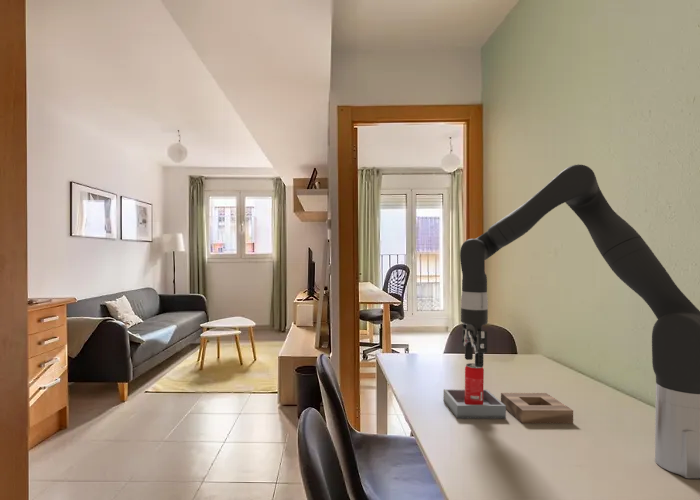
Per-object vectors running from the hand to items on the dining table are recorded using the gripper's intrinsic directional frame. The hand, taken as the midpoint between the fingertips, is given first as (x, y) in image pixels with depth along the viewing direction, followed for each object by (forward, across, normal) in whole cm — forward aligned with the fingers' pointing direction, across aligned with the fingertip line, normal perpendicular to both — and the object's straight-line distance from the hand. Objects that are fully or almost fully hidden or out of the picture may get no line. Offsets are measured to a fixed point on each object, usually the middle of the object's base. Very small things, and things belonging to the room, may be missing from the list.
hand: (473, 362), depth 120 cm
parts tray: (+14, 0, 0) cm, 14 cm away
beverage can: (+13, 0, 0) cm, 13 cm away
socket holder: (+14, -3, -17) cm, 22 cm away
